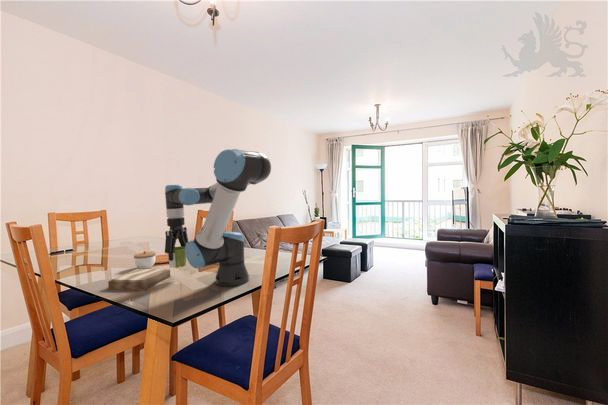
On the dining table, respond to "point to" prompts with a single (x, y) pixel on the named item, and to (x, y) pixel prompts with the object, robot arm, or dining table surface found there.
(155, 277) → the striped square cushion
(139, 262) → the lidded jar
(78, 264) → the dining table surface
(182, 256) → the plant pot
